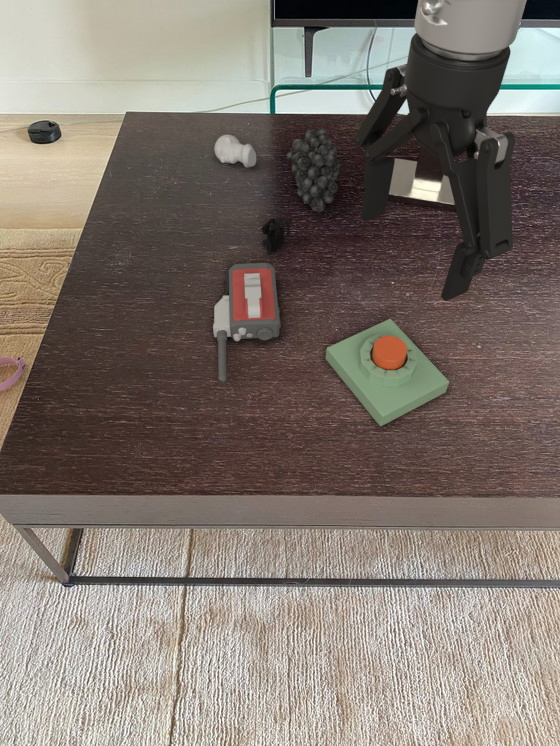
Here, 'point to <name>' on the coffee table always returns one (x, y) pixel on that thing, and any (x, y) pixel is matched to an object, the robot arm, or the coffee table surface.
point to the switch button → (389, 352)
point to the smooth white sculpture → (234, 151)
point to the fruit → (315, 168)
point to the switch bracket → (421, 182)
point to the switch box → (385, 374)
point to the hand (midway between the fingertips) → (411, 253)
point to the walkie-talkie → (246, 308)
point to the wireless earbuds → (275, 234)
